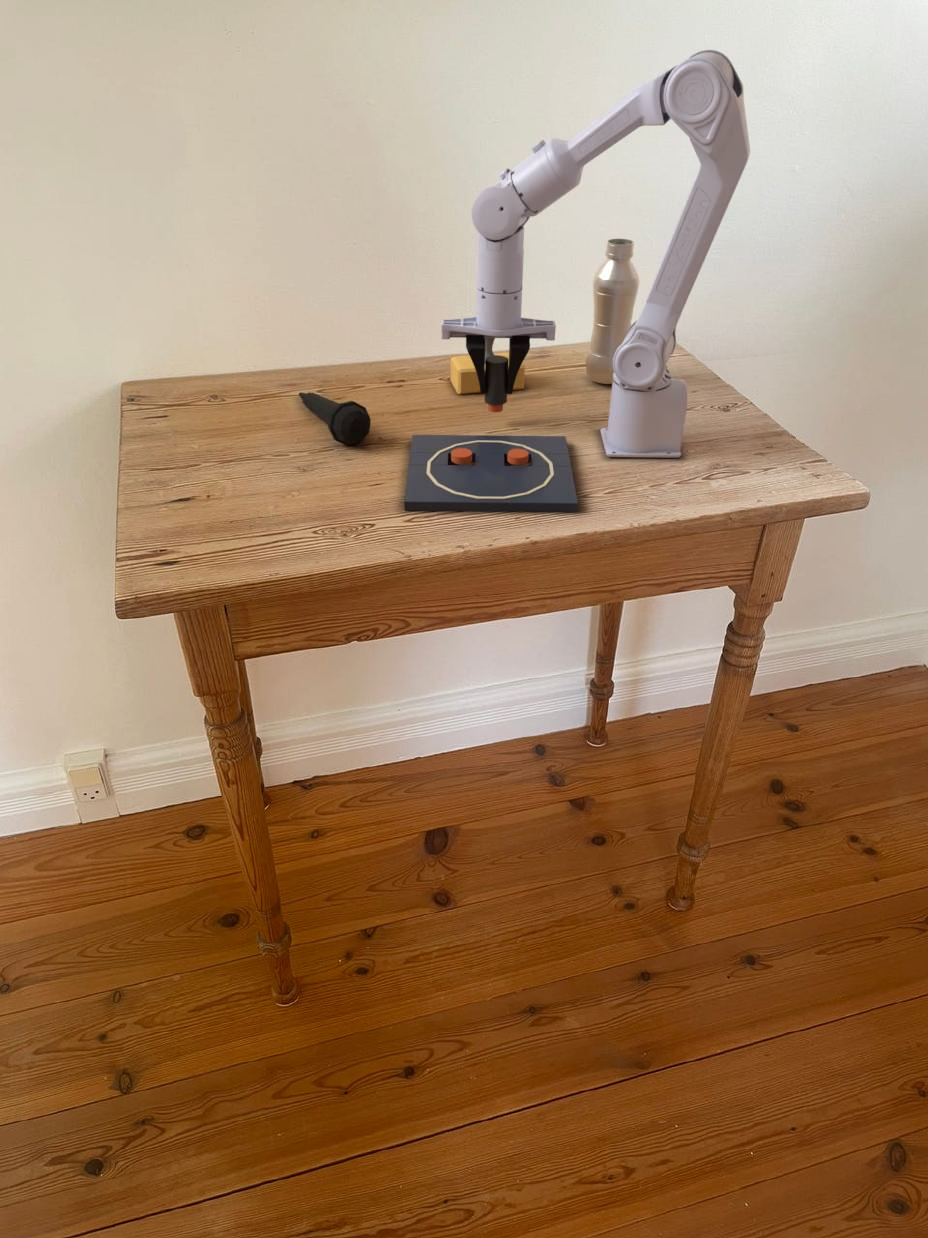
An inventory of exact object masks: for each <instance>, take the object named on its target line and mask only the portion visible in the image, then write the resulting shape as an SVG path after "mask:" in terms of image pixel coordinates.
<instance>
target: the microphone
mask: <svg viewBox="0 0 928 1238" xmlns="http://www.w3.org/2000/svg"><path fill="white" fill-rule="evenodd" d="M298 396H299V398H300V399H301V400H302V404H304V407H305V408H306V409H307V410H309V411H310V412H311V413H312V414H314V415H315V416H317V417H318V418H319V419H320V420H321V421H323V422H324V423H325V424H326V425H327V428H328V431H329V432H330V435H331V436H332V437H331V438H332V439H333V440H335V441H336V442H338V443H340V444H342V445H344V446H346V447H348V446H352V445H356V444H360V443H361V442H363V441H364V440H365V439H366V438H367V436H368V435H369V434H370V429H371V420H372V419H371V417H370V414H369V413H368V410H367V408H366V407H365V406H363V405H361V404H360V403H357V402H355V401H353V400H348V401H345V402H340V403H339V402H337V401H334V400H332V399H330V398H327V397H324V396H322V395H319V394H317V393H315V392H310V391H309V392H299V393H298Z"/></svg>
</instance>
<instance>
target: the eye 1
mask: <svg viewBox="0 0 928 1238" xmlns="http://www.w3.org/2000/svg"><path fill="white" fill-rule="evenodd" d="M451 460H452V461H451V462H452V463H453V464H456V465H468V464H470V463H472V462H471V461H472V451H471V450H469V449H465V448H458V449H454V450H453V451H452V452H451Z"/></svg>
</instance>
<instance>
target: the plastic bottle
mask: <svg viewBox="0 0 928 1238" xmlns="http://www.w3.org/2000/svg"><path fill="white" fill-rule="evenodd" d="M634 248H635V241H634V240H632V239H628V238H610V239H608V240H607V241H606V248H605V251H604V256H605V257H606V259H605V260H604V261H603V262H602V264H600V265H599V267H598V268H597V269H596V271H595V273H594V275H593V278H592V297H593V320H592V323H593V324H592V332H591V339H590V344H589V348H588V351H587V355H586V360H585V371H586V374H587V376H588V378H589V379H590V380H591V381H592V382H595V383H598V384H603V385H612V381H613V373H614V369H613V358H614V354H615V352H616V350H617V349H618V347H619V346H620V345H621V344H622V343H623V341H624V339H625V337H626V335H627V332H628V330H629V328H630V327H631V325H632V319H633V314H634V308H635V305H636V300H637V297H638V292H639V288H640V284H641V283H640V276H639V273H638V270H637V268H636V267H635V265H634V264H633V261H632V258H633V257H634V253H635V252H634Z"/></svg>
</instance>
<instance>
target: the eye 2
mask: <svg viewBox="0 0 928 1238" xmlns="http://www.w3.org/2000/svg"><path fill="white" fill-rule="evenodd" d="M528 458H529V453H528V452H527V451H526V450H523V449H512V450H510V451H508V459H507V460H508V462H507V463H509V464H511V465H513V466H524V465H526V464H527V463H529V462H528Z"/></svg>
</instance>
